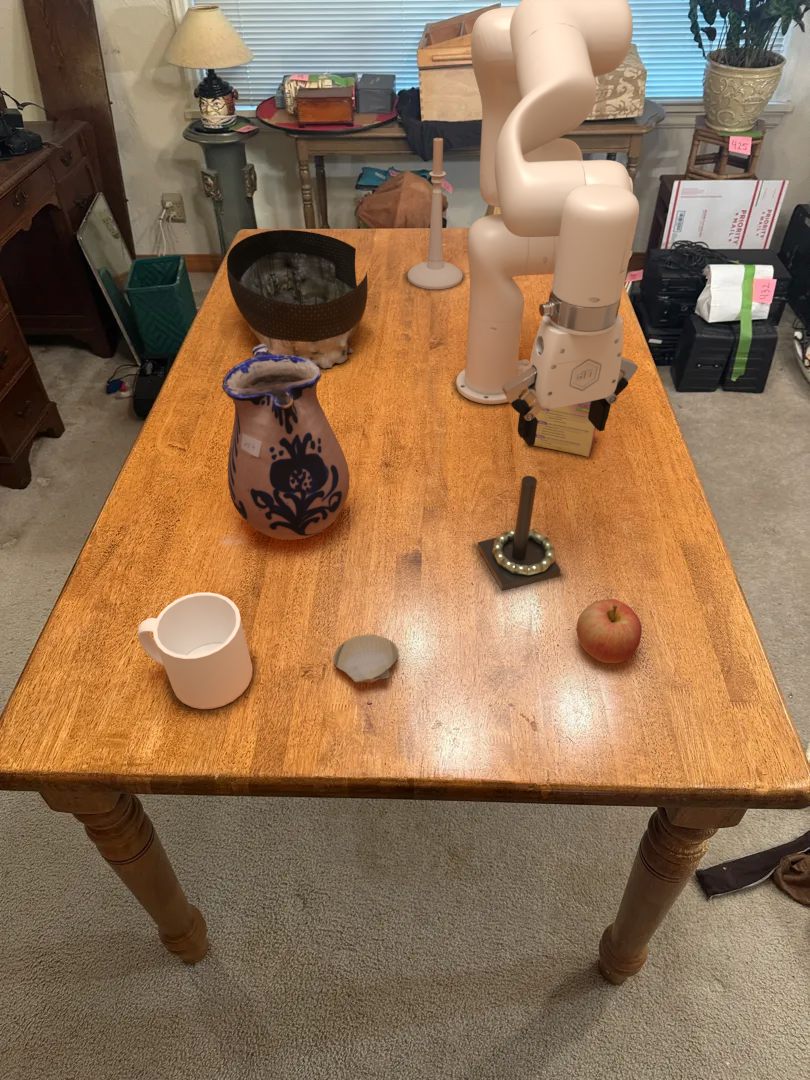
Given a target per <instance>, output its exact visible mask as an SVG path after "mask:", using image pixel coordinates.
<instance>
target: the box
mask: <svg viewBox="0 0 810 1080" xmlns="http://www.w3.org/2000/svg"><path fill="white" fill-rule="evenodd" d="M536 400H537V399H536V398H534V402H535V401H536ZM590 404H591V401H590V402H585V403H580V404H575V405H570V406H565V407H560V408H554V409H546V408H542V409H541V410H540V412H539V413H538V414H537V415H536V416H535V417H536V418H537V420H538V425H537V431H536V438H535V444H534V445H533V446H534V447H538V448H539V447H540V448H544V449H545V448H546V449H549V450H554V451H558V452H559V451H560V452H565V453H569V454H574V455H579V456H583V457H587V458H589V456H590V453H591V450H592V447H593V443H594V439H595V435H596V431H597V429H596V428H595V427H594V425H593V424H592V423H591V422H590V421H589V419H588V414H589V409H590Z"/></svg>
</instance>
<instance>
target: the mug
mask: <svg viewBox="0 0 810 1080" xmlns="http://www.w3.org/2000/svg"><path fill="white" fill-rule="evenodd" d="M150 633H151V634H153V637H152V635H151V634H150ZM136 634H137V638H138V641H139V644H140V645H141V647H142V650H143V651H144V652H145V653H146V654H147V656H148V657H149V658H151V659H152V660H153V661H154V662H155V663H157V664H159V665H162V666H163V667H164V670H165V672H166V675H167V678H168V680H169V683H170V687H171V688H172V691H173V693H174V695H175V697H176V698H177V699H178V700H179V701H180V702H181V703H182V704H184V705H186V706H188V707H190V708H194V709H199V710H213V709H218V708H221V707H224V706H226V705H228V704H230V703H232V702H234V701H236V699H238V698H239V697H241V696H242V695H243V693H244V692H245V691H246V690H247V689H248V687H249V685H250V683H251V681H252V678H253V671H254V669H253V664H252V659H251V655H250V651H249V646H248V642H247V639H246V635H245V630H244V626H243V622H242V617H241V614H240V610H239V608H238V606H237V605H236V603H235V602H233V600H231V599H230V598H228V597H227V596H225V595H222V594H220V593H215V592H209V591H207V592H206V591H205V592H195V593H191V594H187V595H184V596H181V597H179V598H176V599H175V600H174V601H172V602H171V603H170V604H168V605H166V607H165V608H163V610H162V611H161V612H159V614H158V616H157V617H148V618H146V619H144V620H143V621H141V623H140V624H139V626H138V629H137V633H136Z"/></svg>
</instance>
